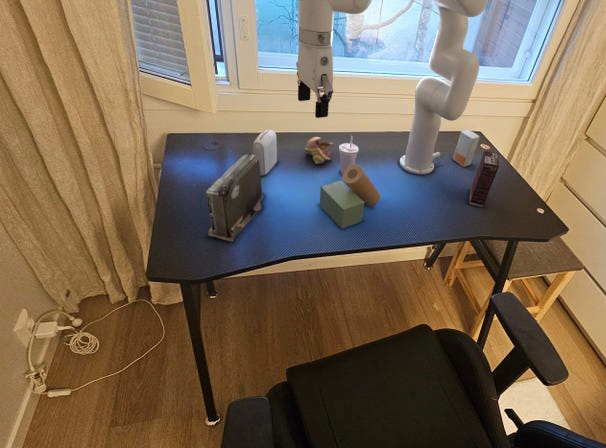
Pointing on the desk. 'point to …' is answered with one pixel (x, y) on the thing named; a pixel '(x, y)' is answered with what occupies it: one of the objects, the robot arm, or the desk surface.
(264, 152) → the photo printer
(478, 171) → the supplement box
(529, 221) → the desk surface
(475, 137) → the cosmetic box
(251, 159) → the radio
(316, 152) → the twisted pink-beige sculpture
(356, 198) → the green block
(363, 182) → the paper roll
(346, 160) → the smoothie
